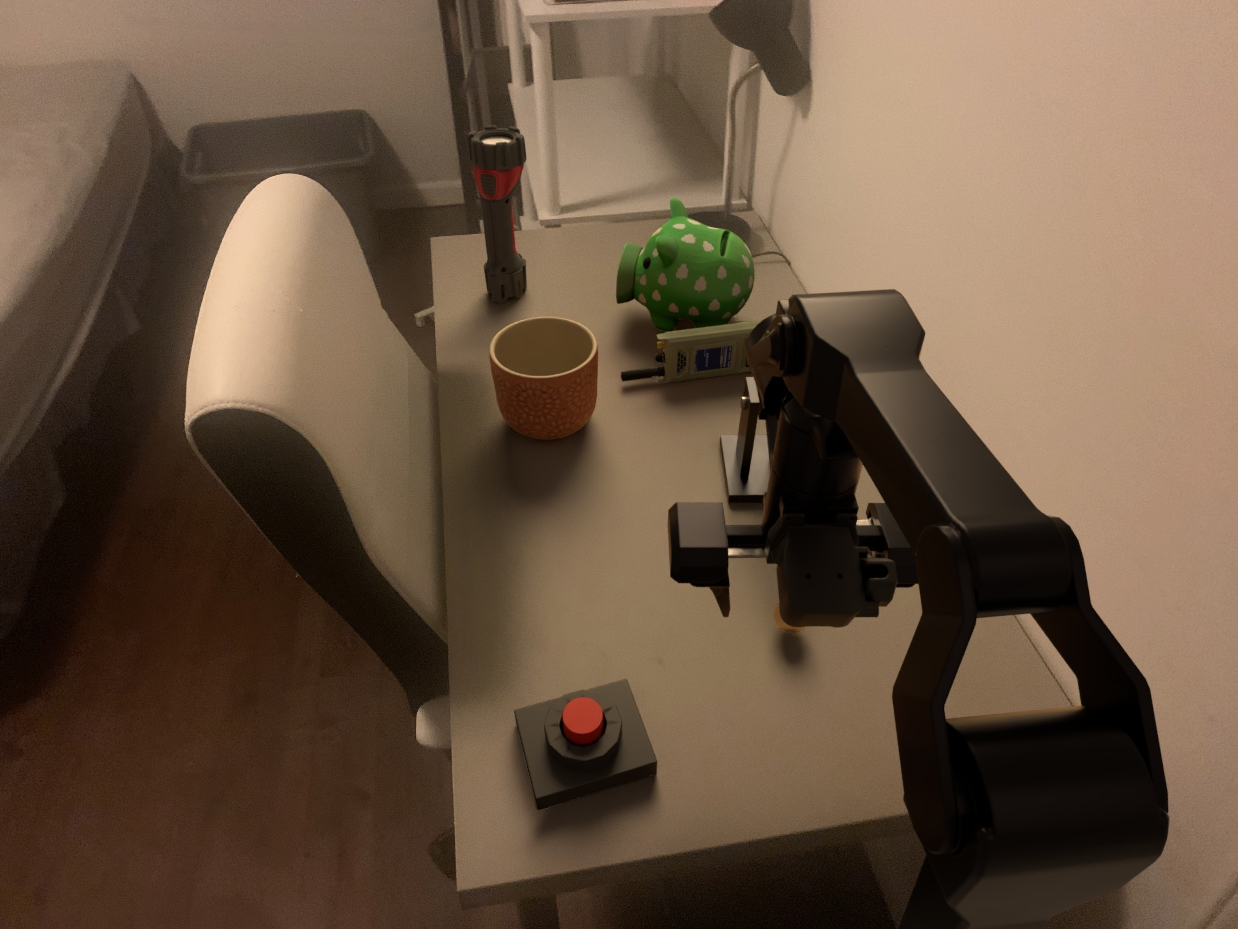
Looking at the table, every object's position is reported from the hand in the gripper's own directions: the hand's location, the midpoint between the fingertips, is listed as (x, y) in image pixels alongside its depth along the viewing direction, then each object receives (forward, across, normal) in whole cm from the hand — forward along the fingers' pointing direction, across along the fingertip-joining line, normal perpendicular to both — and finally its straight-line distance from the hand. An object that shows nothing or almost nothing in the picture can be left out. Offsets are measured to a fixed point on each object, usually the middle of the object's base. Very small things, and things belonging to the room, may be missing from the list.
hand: (783, 613), depth 63 cm
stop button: (+8, -16, -5) cm, 18 cm away
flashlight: (+10, -30, +69) cm, 76 cm away
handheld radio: (+11, -1, +47) cm, 49 cm away
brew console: (+12, -16, -5) cm, 20 cm away
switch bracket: (+11, +3, +28) cm, 31 cm away
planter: (+11, -22, +38) cm, 45 cm away
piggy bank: (+11, -4, +60) cm, 61 cm away
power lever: (+7, +3, +18) cm, 19 cm away
